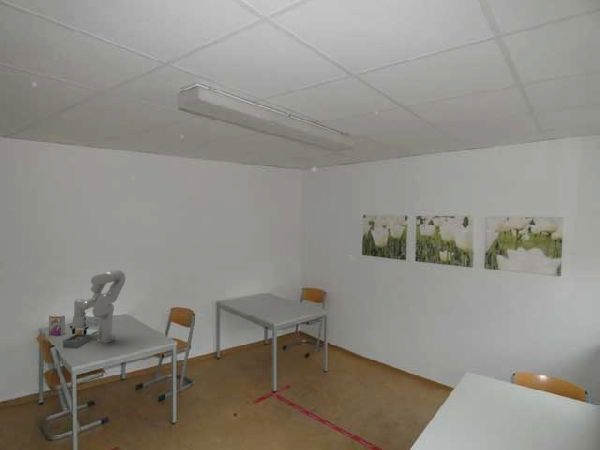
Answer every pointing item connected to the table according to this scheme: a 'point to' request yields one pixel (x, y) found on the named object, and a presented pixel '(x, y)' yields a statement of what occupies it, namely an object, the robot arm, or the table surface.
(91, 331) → the tool with wooden handle
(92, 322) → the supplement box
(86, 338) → the tub
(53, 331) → the candy bar box
